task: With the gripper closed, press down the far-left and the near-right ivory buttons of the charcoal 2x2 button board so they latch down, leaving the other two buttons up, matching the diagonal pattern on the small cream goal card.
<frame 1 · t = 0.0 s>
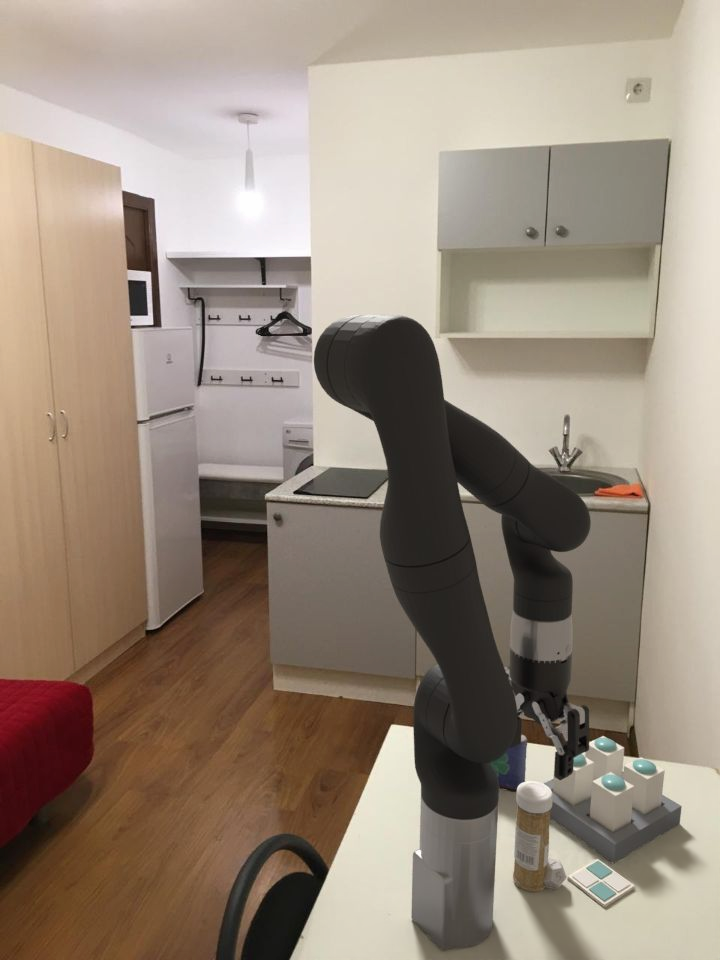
hand: (537, 760, 98), 17 cm above the table, tool pointing down, fingers open, 8 cm apart
button far right: (642, 784, 112), point 6 cm above the table, slide at 0.0 cm
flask: (495, 783, 122), on the table
button far left: (603, 762, 118), point 6 cm above the table, slide at 0.0 cm
game die: (552, 885, 100), on the table, touching sprinkles bottle
button board: (604, 814, 114), on the table
goal card: (600, 883, 100), on the table
sprinkles bottle: (529, 882, 101), on the table, touching game die
button near left: (573, 776, 114), point 6 cm above the table, slide at 0.0 cm
button near right: (611, 801, 108), point 6 cm above the table, slide at 0.0 cm
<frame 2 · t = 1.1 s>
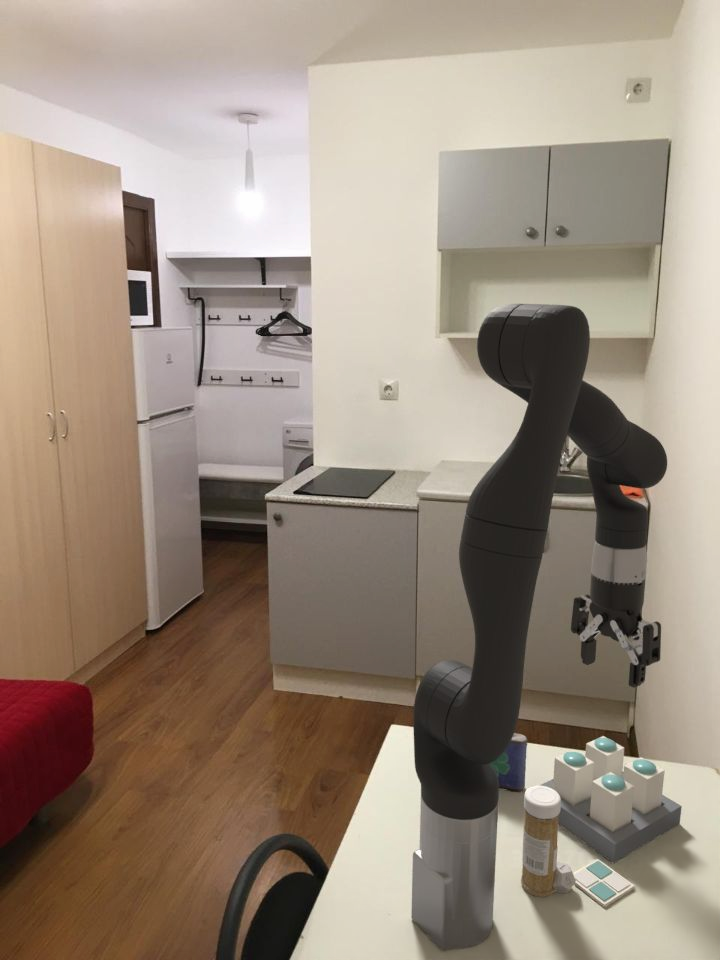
hand: (611, 674, 114), 21 cm above the table, tool pointing down, fingers open, 8 cm apart
game die: (560, 888, 100), on the table, touching sprinkles bottle
sprinkles bottle: (537, 886, 100), on the table, touching game die
everything else where it was.
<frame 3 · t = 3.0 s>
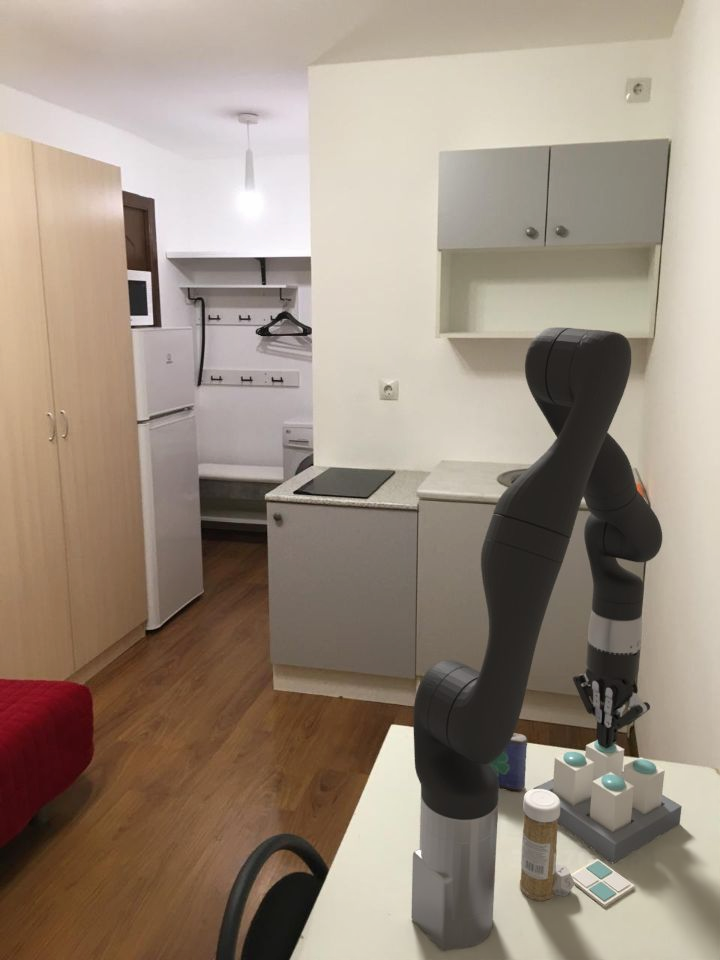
hand: (606, 744, 117), 9 cm above the table, tool pointing down, fingers closed
button far left: (603, 763, 118), point 5 cm above the table, slide at 0.3 cm, touching gripper
game die: (559, 891, 99), on the table, touching sprinkles bottle
sprinkles bottle: (536, 890, 99), on the table, touching game die
everything else where it was.
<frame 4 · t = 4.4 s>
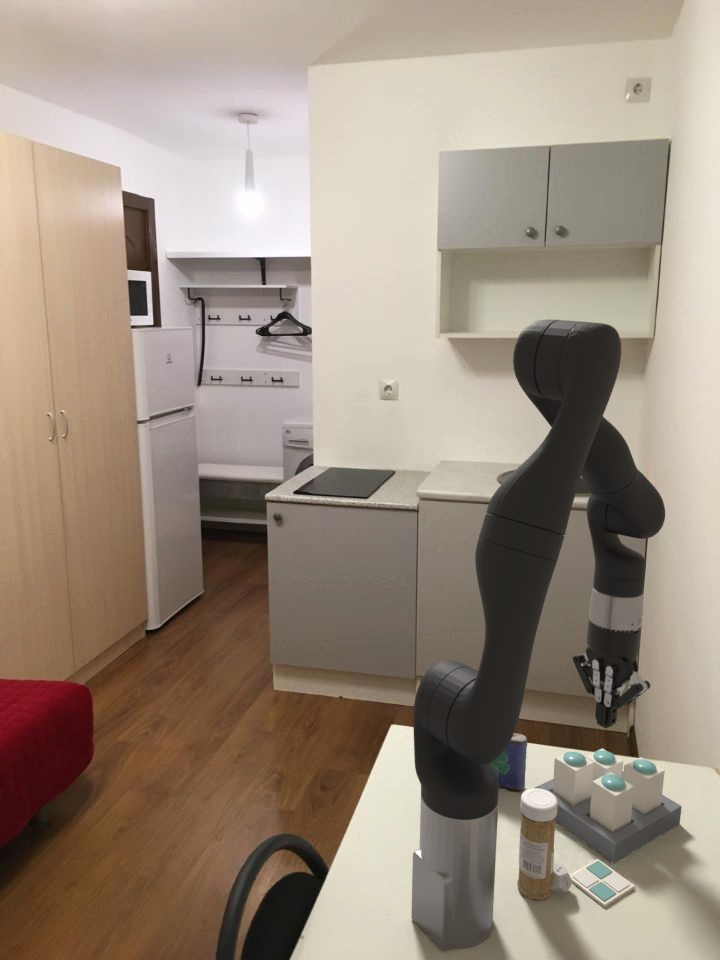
hand: (605, 725, 116), 12 cm above the table, tool pointing down, fingers closed
button far left: (602, 774, 118), point 4 cm above the table, slide at 2.2 cm
sprinkles bottle: (534, 890, 99), on the table, touching game die
everything else where it was.
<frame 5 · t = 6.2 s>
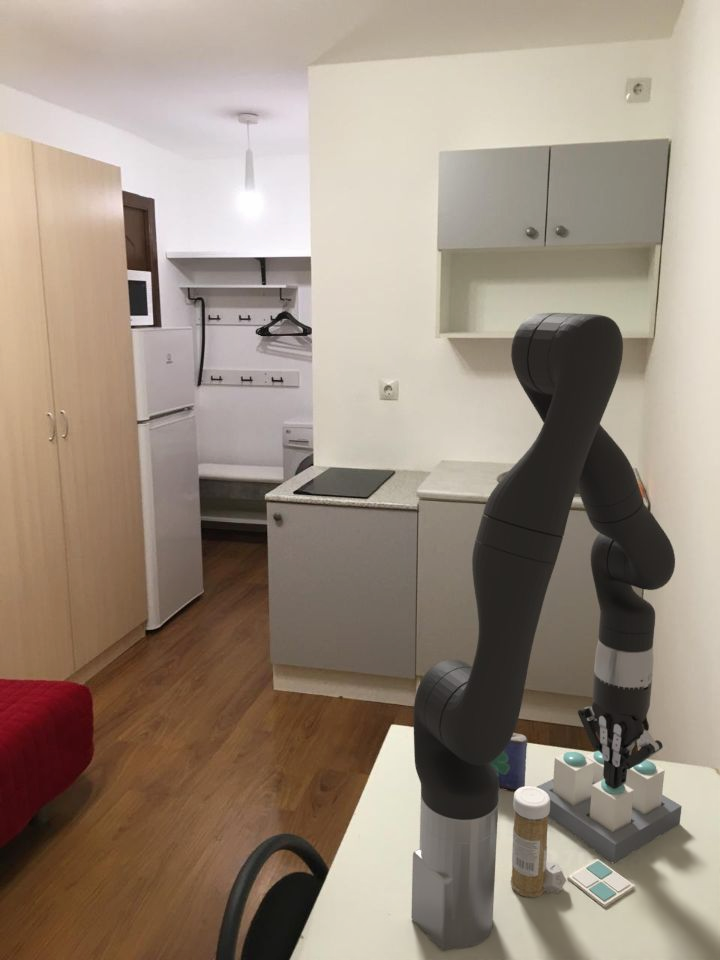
hand: (614, 784, 108), 8 cm above the table, tool pointing down, fingers closed
button near right: (611, 805, 108), point 5 cm above the table, slide at 0.6 cm, touching gripper
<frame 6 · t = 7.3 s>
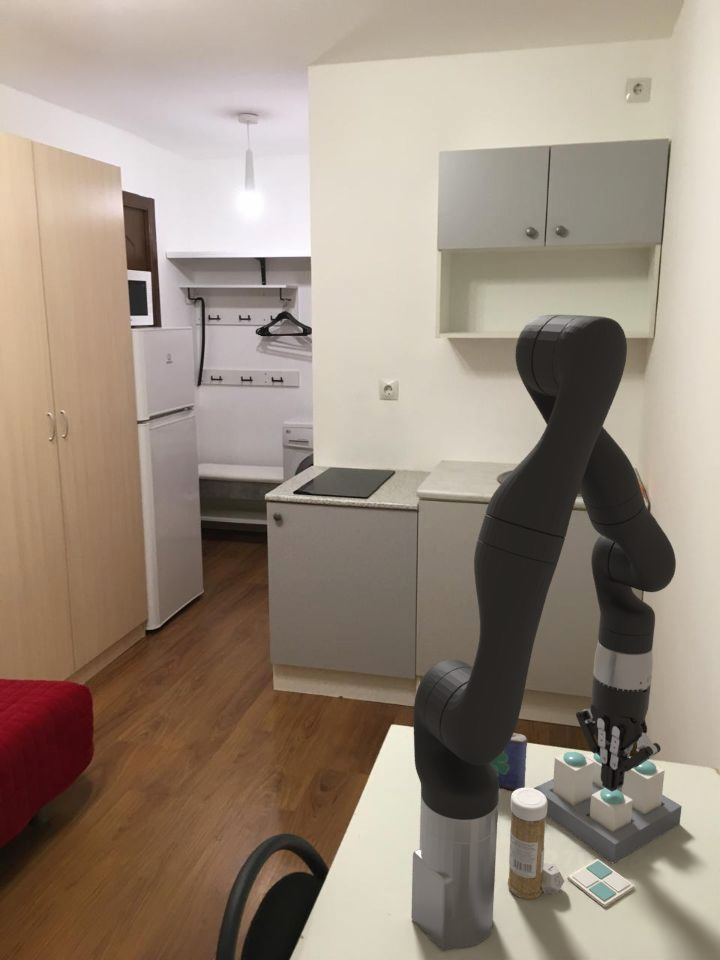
hand: (611, 787, 108), 8 cm above the table, tool pointing down, fingers closed
sprinkles bottle: (524, 888, 100), on the table, touching game die
button near right: (610, 814, 109), point 4 cm above the table, slide at 2.2 cm
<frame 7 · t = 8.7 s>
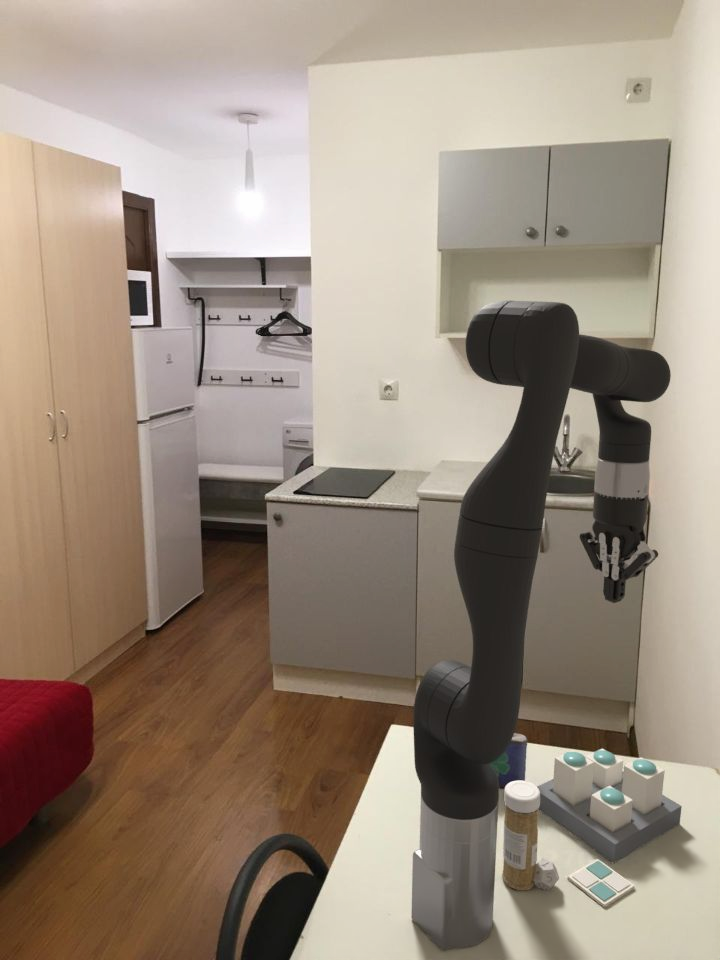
hand: (613, 600, 115), 31 cm above the table, tool pointing down, fingers closed
game die: (544, 885, 100), on the table, touching sprinkles bottle
sprinkles bottle: (518, 880, 101), on the table, touching game die
everything else where it was.
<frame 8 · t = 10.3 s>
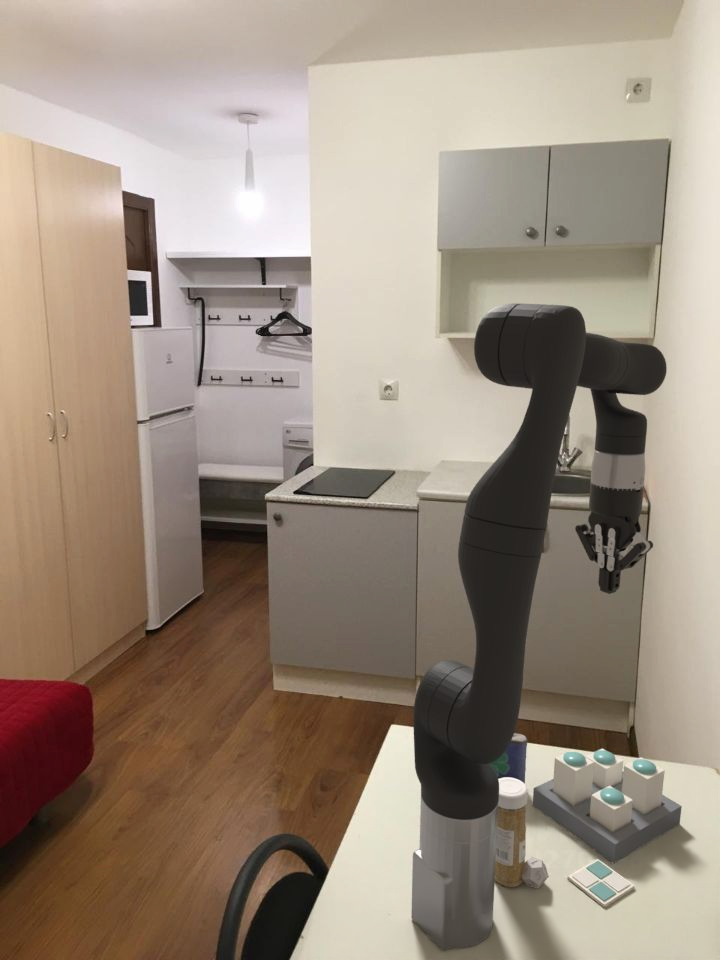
hand: (608, 591, 116), 32 cm above the table, tool pointing down, fingers closed
game die: (533, 883, 100), on the table, touching sprinkles bottle
sprinkles bottle: (508, 877, 102), on the table, touching game die
everything else where it was.
at the end: button far left slide at 2.2 cm; button near right slide at 2.2 cm; button near left slide at 0.0 cm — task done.
